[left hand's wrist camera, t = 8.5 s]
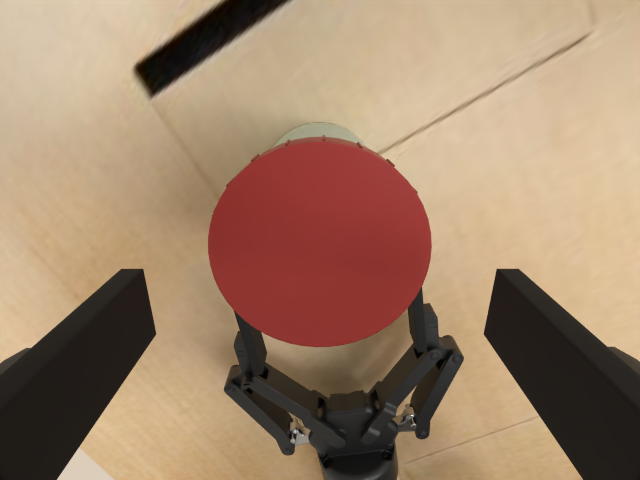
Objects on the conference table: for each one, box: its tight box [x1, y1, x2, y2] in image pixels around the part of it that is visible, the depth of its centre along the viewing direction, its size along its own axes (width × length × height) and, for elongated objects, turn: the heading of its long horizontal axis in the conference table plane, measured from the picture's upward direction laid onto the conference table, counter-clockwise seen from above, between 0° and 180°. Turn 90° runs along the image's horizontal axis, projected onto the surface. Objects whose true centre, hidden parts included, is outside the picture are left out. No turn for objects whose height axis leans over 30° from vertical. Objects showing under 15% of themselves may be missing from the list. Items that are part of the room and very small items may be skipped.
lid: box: [208, 135, 432, 347], centre depth 18 cm, size 10×10×2 cm
